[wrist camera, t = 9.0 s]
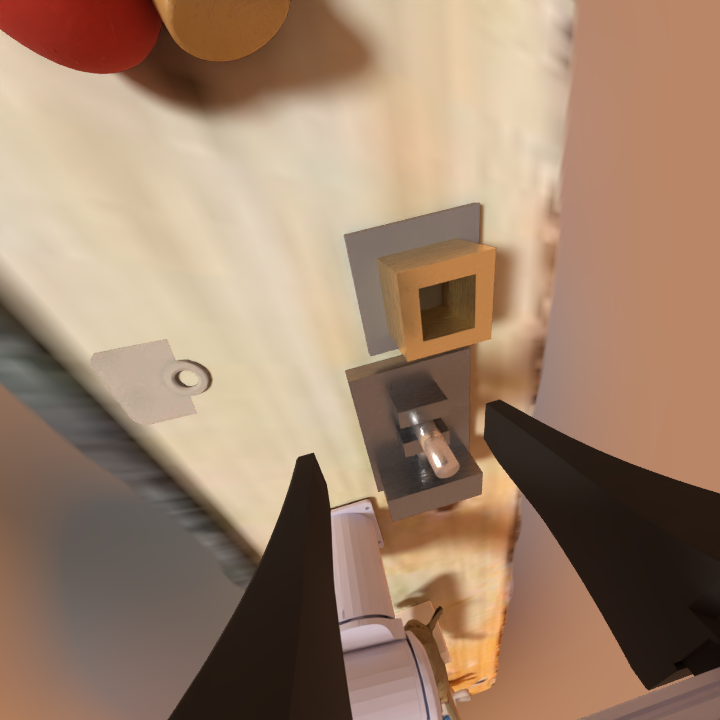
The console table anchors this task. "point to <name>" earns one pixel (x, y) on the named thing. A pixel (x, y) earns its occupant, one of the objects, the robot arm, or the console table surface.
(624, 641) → the robot arm
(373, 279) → the rubber mat
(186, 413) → the mounting bracket
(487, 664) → the console table surface
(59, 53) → the kendama
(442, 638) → the wood carving
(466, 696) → the bunny figurine
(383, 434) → the gray fixture base
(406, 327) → the wooden hollow block
